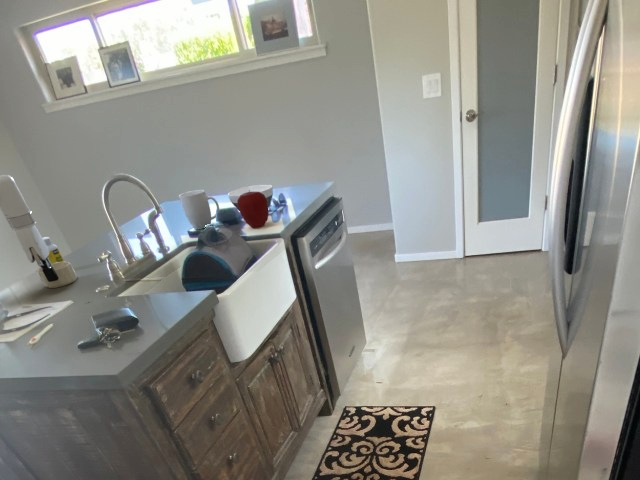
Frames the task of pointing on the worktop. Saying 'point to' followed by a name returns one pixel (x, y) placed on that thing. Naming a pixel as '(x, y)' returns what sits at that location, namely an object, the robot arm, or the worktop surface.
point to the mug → (197, 208)
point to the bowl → (264, 189)
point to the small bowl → (59, 275)
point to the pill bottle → (53, 251)
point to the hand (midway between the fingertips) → (53, 280)
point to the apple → (253, 208)
